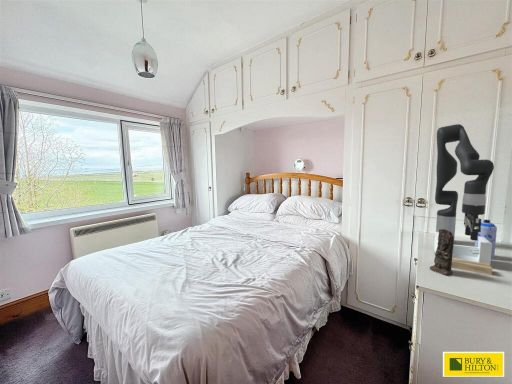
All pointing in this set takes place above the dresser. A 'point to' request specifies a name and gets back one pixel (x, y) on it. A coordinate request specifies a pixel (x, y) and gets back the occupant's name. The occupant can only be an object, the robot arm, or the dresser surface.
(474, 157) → the robot arm
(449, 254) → the statue
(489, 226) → the aerosol can
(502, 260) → the dresser surface
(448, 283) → the dresser surface
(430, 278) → the dresser surface
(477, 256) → the cabinet bay
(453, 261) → the shelf board
